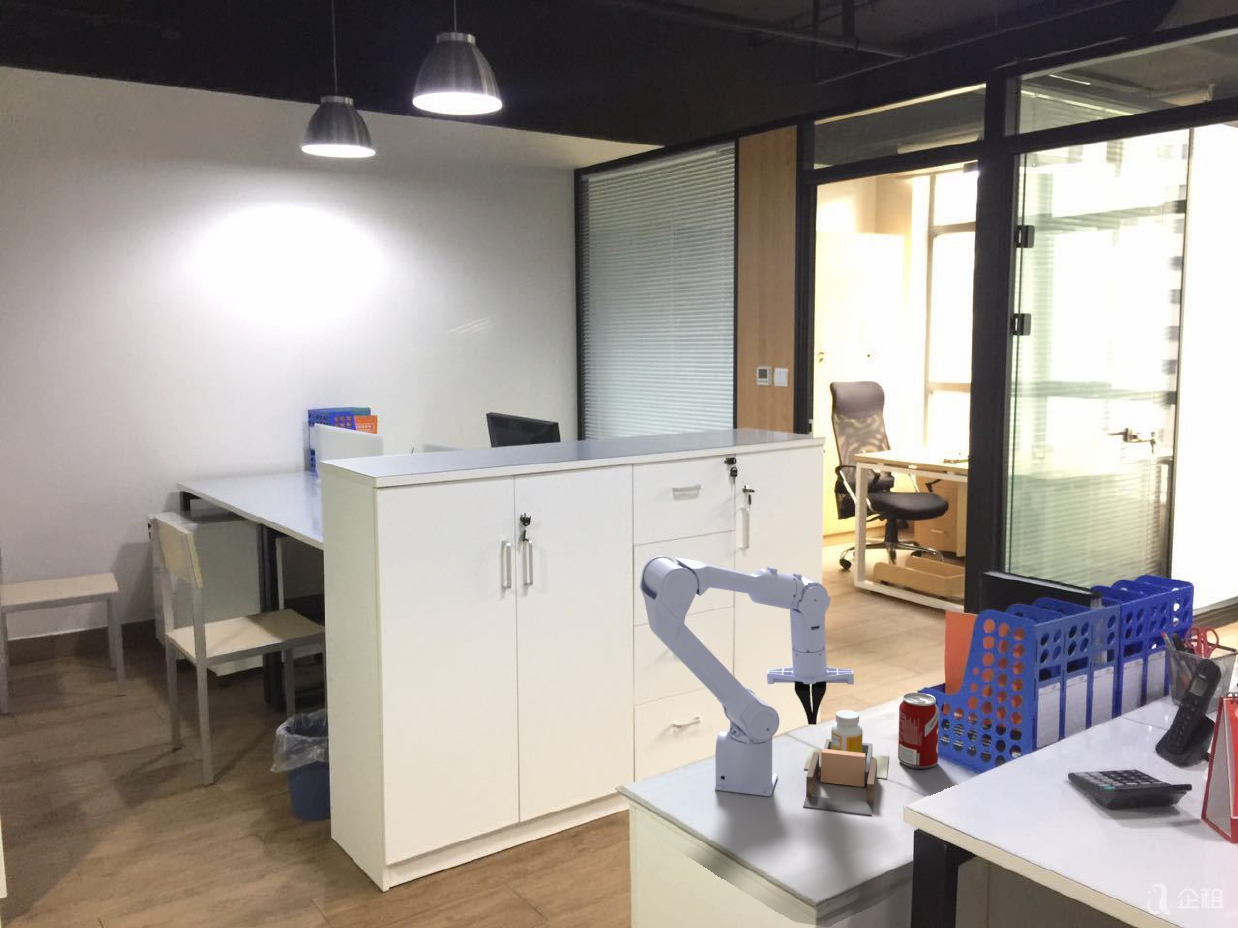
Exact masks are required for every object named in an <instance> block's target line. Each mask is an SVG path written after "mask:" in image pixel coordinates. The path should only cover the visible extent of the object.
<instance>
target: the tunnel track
mask: <svg viewBox="0 0 1238 928" xmlns="http://www.w3.org/2000/svg"><path fill="white" fill-rule="evenodd" d="M822 749H823V748H816V747H810V748H809V750H808V754H807V758H806V761H805V764H804V767H803V770H804V771H807V774H806V777H805V780H806V781H805V784H806V786H805V787H806V790H805V792H806V793H805V800H804V801H803V806H802V807H803V809H811V810H812V809H814V810H821V811H830V812H837V813H845V814H852V815H853V814H854V815H861V816H869V817H872V816H873V808H874V802H875V801H874V800H875V795H876V786H877V779H883V780H887V777H888V769H889V768H888V767H889V760H890V756H888V755H881V754H880V755H879V754H874V757H872V758H871V763H870V769H869V776H868V782H867V783H866V784H867V785H866V786H867V787H866V802H865V801H858V800H849V799H840V798H839V799H838V798H832V797H825V796H824V797H823V796H815V795H814V792H815V788H816V784H817V781H818V778H819V765H820V761H821V751H822Z"/></svg>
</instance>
